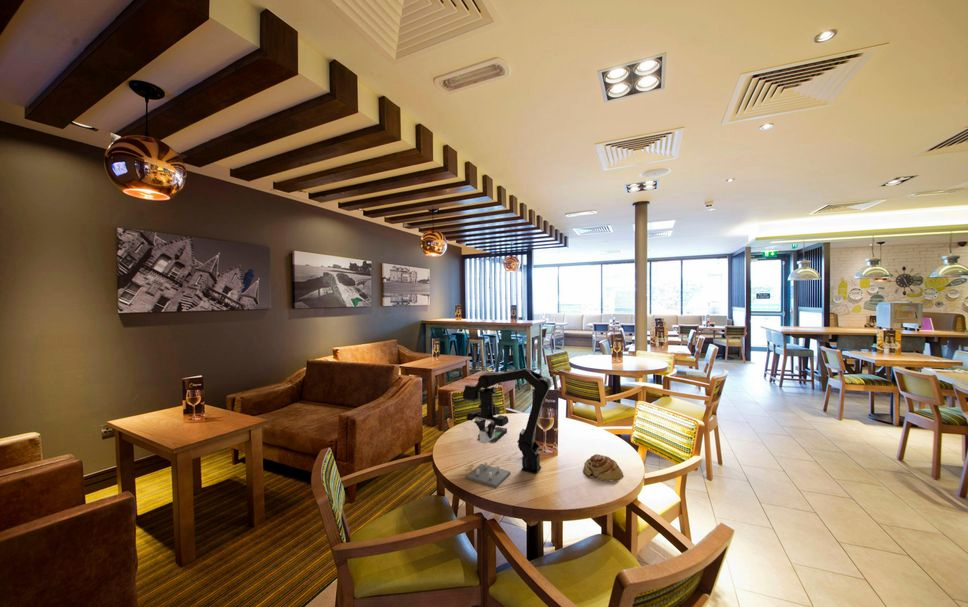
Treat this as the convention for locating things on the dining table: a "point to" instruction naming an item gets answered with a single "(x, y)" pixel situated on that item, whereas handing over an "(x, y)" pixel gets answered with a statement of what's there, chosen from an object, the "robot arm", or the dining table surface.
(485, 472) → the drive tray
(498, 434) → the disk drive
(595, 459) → the pastry
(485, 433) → the block
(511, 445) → the dining table surface
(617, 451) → the dining table surface
